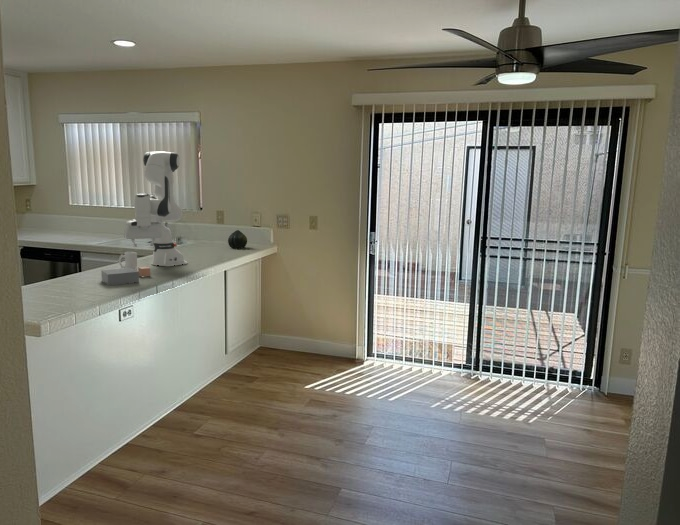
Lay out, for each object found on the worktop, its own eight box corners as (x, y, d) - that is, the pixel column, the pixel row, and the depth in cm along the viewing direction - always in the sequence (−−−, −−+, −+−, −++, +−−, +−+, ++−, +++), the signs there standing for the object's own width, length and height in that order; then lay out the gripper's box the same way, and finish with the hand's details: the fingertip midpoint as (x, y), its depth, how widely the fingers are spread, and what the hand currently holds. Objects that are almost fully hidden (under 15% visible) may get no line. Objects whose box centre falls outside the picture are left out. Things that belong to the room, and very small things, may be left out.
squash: (235, 243, 401) (244, 228, 408) (221, 242, 409) (230, 227, 415) (245, 254, 411) (253, 238, 418) (231, 252, 419) (239, 237, 426)
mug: (137, 271, 312) (137, 251, 309) (136, 273, 305) (136, 253, 303) (119, 271, 309) (119, 251, 307) (118, 273, 302) (117, 253, 300)
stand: (131, 278, 293) (131, 267, 292) (138, 282, 284) (138, 271, 283) (101, 281, 283) (101, 270, 282) (108, 285, 274) (107, 274, 273)
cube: (147, 274, 304) (147, 266, 303) (150, 276, 300) (150, 268, 299) (138, 275, 301) (138, 267, 300) (141, 277, 297) (141, 268, 296)
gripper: (159, 221, 303) (159, 244, 306) (122, 222, 291) (123, 246, 293) (163, 222, 299) (163, 246, 301) (126, 223, 286) (126, 247, 288)
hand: (143, 246), depth 297 cm, fingers open, 8 cm apart
